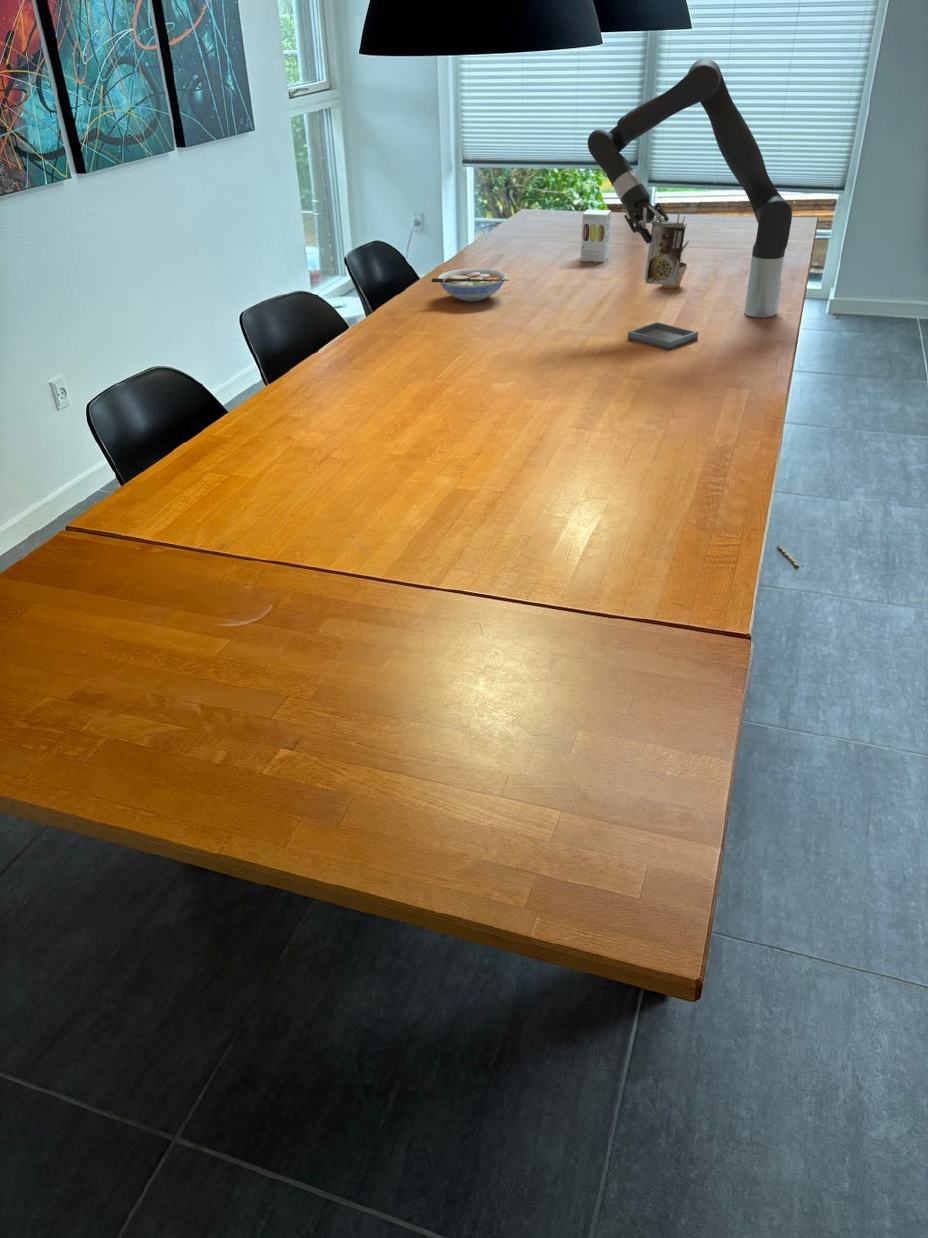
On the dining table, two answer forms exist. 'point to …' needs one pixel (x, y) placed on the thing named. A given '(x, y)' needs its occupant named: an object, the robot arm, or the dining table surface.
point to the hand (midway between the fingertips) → (659, 239)
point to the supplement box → (595, 235)
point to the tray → (663, 335)
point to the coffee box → (664, 253)
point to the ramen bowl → (471, 283)
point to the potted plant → (681, 267)
